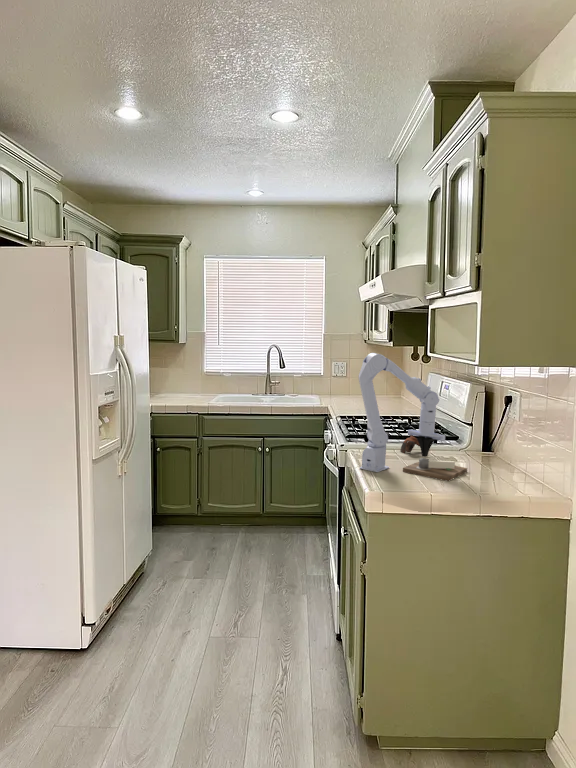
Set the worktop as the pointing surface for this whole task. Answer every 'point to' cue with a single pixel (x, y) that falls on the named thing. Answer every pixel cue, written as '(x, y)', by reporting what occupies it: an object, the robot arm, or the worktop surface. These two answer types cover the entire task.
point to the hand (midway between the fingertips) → (424, 456)
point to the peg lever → (435, 464)
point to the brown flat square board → (435, 471)
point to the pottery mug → (409, 444)
